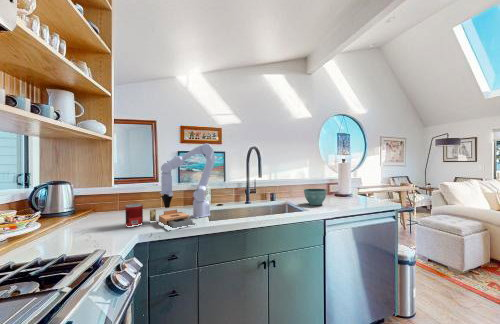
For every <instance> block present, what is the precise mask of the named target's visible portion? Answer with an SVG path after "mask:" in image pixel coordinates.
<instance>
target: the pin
mask: <svg viewBox="0 0 500 324" xmlns="http://www.w3.org/2000/svg"><path fill="white" fill-rule="evenodd" d="M150 221H156V222H157V209H155V208H153V209H150V210H149V222H150Z"/></svg>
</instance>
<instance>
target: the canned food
mask: <svg viewBox="0 0 500 324" xmlns="http://www.w3.org/2000/svg"><path fill="white" fill-rule="evenodd" d="M143 215H144V212H143V203H141V202H140V203H139V202H138V203H130V204H126V205H125V226H126V225H127V226H132V225H138V224H141V223H144V219H143V218H144V216H143Z"/></svg>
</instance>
